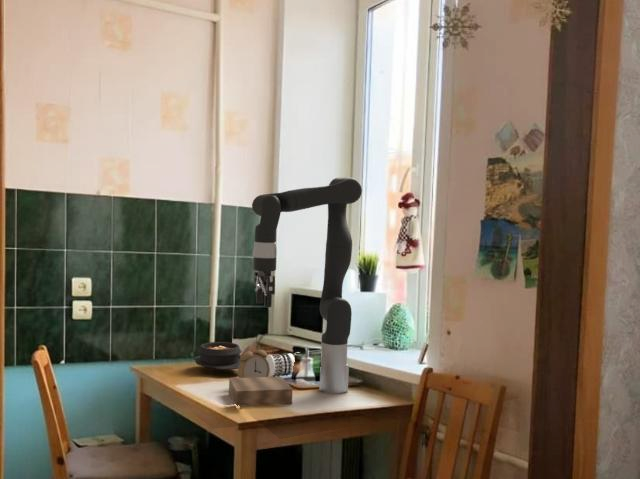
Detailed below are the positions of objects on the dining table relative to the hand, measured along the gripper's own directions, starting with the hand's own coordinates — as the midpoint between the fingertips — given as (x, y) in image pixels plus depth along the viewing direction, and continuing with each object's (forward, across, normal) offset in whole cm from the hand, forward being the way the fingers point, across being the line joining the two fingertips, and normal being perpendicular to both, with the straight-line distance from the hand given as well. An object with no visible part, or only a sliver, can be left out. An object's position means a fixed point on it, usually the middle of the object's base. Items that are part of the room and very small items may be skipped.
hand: (263, 305), depth 223 cm
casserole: (+32, +47, +2) cm, 57 cm away
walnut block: (+32, -1, +1) cm, 32 cm away
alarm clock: (+32, +16, -2) cm, 35 cm away
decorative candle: (+27, +27, -12) cm, 40 cm away
